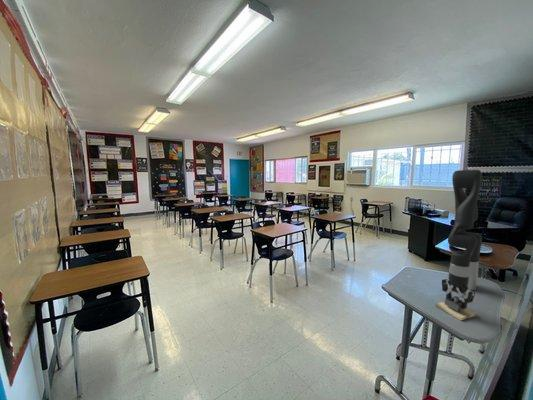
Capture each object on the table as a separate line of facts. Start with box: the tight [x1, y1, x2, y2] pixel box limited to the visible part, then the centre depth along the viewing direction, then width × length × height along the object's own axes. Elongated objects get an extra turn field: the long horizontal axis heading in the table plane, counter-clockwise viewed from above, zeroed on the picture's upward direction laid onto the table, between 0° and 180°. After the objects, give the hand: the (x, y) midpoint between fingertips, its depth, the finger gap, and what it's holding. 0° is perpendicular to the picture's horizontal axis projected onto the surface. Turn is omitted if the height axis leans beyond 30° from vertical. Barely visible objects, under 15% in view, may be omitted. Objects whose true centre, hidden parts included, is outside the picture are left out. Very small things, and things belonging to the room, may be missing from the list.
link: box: [444, 296, 468, 311], centre depth 114 cm, size 6×6×3 cm
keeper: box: [435, 295, 478, 321], centre depth 114 cm, size 11×12×7 cm
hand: (455, 304), depth 114 cm, fingers closed on link, 6 cm apart
